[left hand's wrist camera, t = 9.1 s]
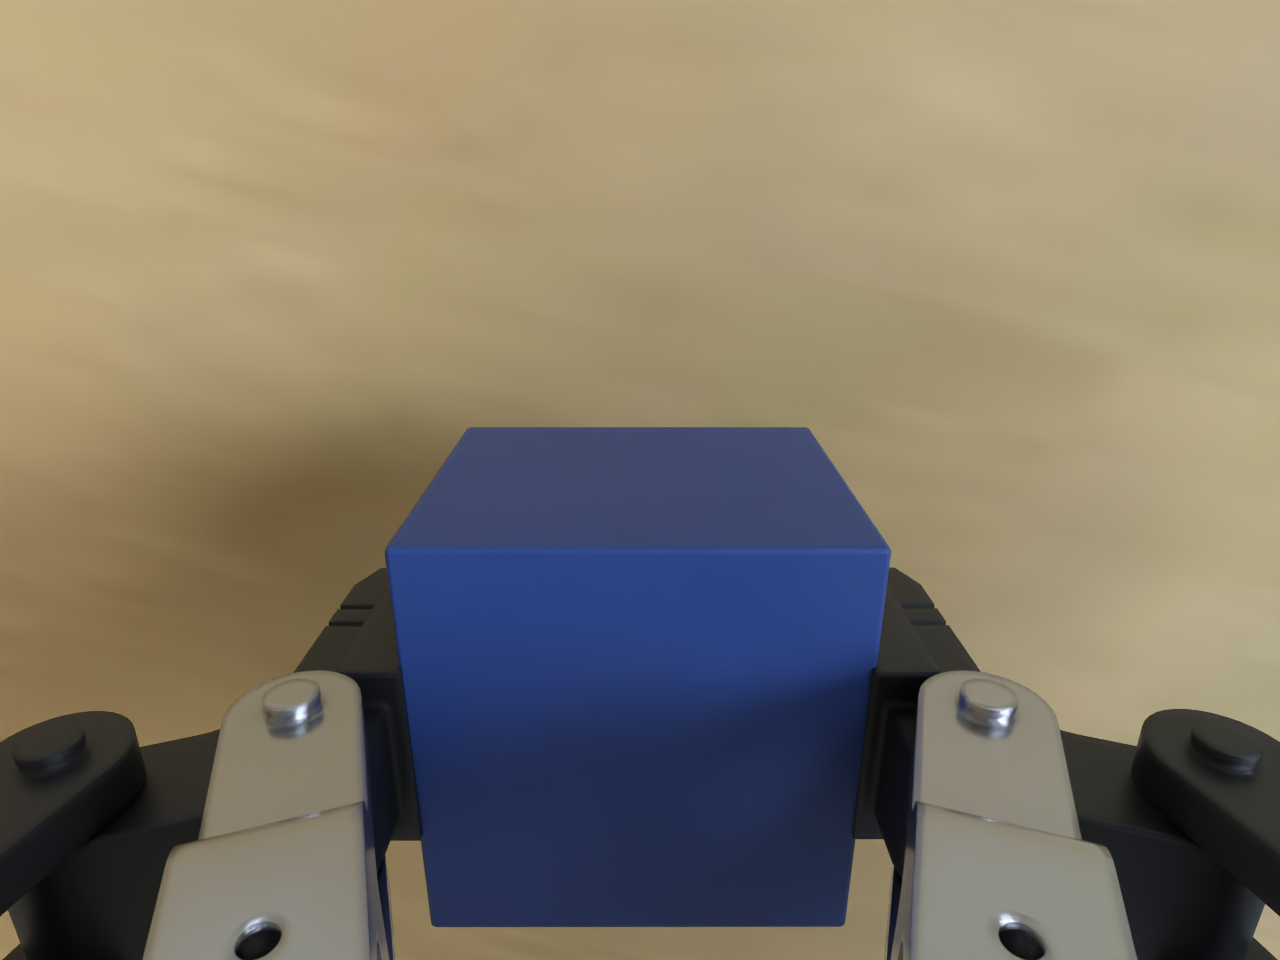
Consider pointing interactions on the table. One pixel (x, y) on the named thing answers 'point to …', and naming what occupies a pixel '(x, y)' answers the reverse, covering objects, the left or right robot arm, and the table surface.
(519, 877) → the brick
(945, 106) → the table surface
